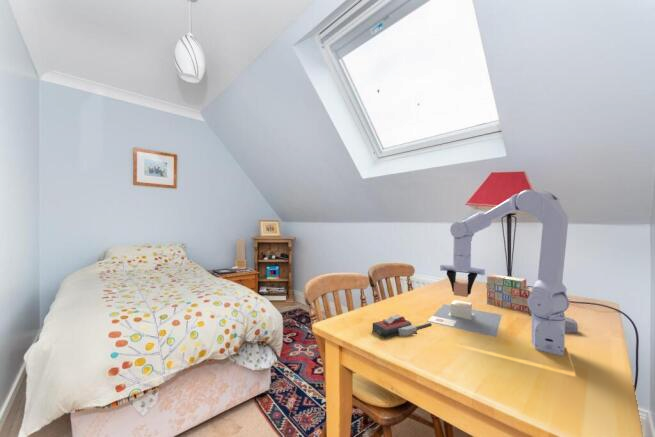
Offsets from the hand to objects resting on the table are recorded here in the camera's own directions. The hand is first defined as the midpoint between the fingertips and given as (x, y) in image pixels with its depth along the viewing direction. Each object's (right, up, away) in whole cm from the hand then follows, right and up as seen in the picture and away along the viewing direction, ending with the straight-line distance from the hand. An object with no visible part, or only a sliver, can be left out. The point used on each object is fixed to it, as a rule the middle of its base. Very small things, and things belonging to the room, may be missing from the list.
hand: (461, 292), depth 101 cm
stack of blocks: (+27, -10, +9) cm, 30 cm away
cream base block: (0, -8, 0) cm, 8 cm away
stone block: (+27, -10, -7) cm, 29 cm away
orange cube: (0, -1, 0) cm, 1 cm away
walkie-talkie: (-25, -9, -13) cm, 30 cm away
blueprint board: (0, -9, -4) cm, 10 cm away
